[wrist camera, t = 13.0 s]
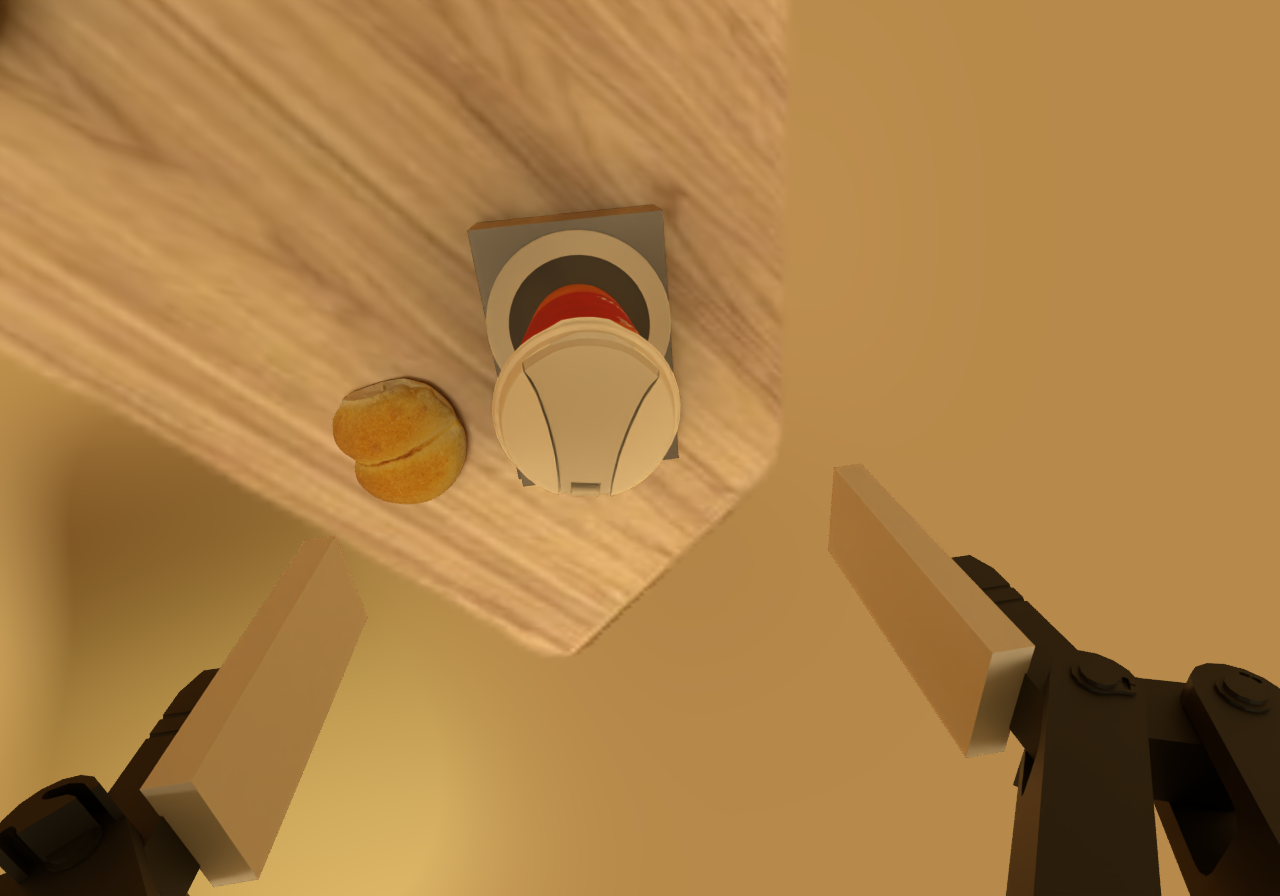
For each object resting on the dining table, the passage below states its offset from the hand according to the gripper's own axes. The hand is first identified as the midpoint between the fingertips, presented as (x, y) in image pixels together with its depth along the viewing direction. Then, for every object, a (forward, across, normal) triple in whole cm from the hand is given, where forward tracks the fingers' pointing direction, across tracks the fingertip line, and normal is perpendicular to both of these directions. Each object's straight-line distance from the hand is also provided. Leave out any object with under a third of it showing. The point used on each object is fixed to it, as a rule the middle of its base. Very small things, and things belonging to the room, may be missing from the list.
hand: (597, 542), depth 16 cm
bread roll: (+27, -13, -8) cm, 31 cm away
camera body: (+27, 0, -2) cm, 27 cm away
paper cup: (+22, 0, 0) cm, 22 cm away
